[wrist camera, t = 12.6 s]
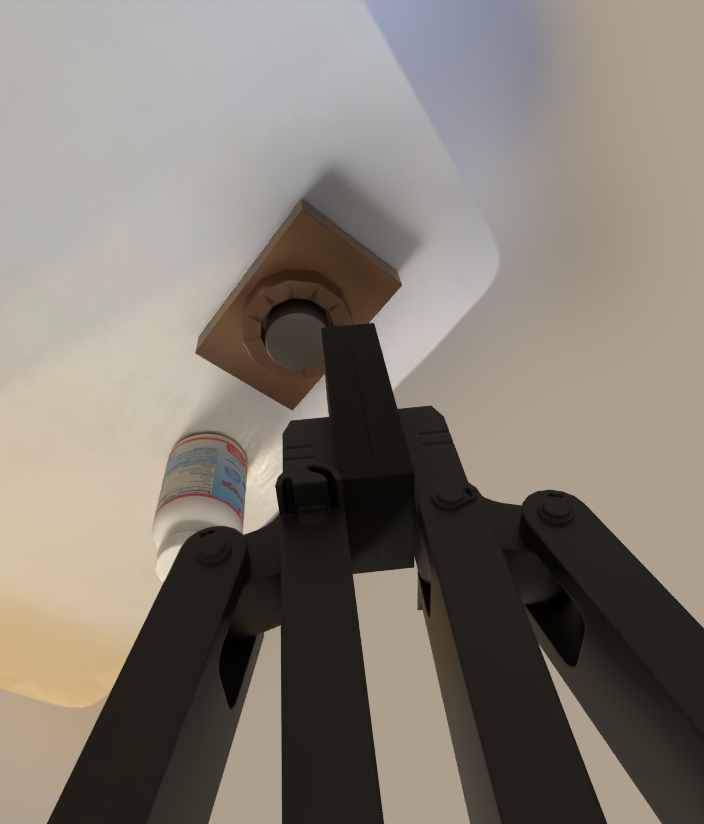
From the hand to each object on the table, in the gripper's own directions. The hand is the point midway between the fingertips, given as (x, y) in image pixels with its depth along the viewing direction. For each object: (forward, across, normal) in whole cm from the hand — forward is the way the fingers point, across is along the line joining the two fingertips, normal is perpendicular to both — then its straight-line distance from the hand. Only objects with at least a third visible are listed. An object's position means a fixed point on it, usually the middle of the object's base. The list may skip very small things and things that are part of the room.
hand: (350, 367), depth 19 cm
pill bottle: (+25, -10, -22) cm, 34 cm away
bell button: (+21, -2, -9) cm, 23 cm away
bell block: (+24, -2, -9) cm, 26 cm away
